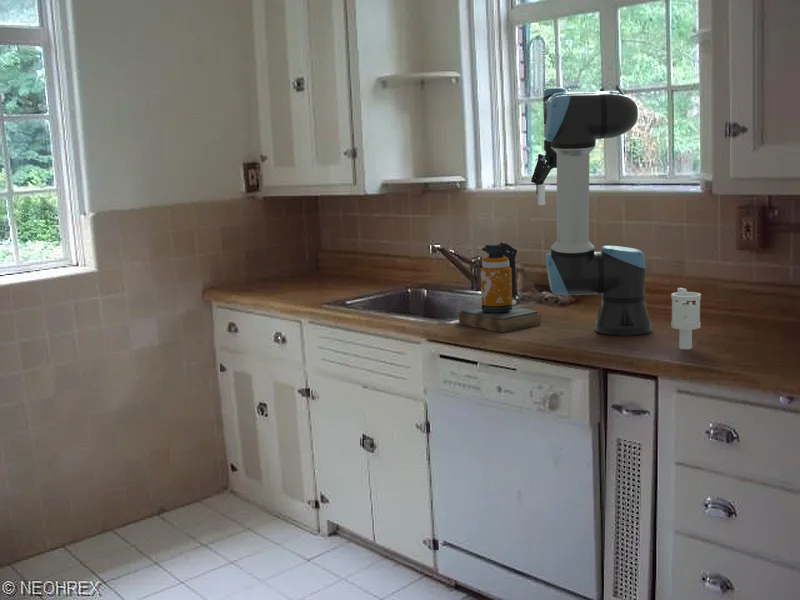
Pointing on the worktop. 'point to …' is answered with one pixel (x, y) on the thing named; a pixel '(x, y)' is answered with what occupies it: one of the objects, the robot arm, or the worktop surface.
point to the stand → (500, 319)
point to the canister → (498, 278)
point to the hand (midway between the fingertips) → (556, 205)
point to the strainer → (685, 315)
